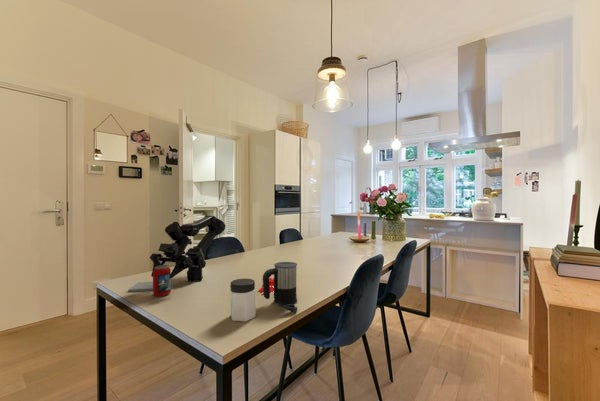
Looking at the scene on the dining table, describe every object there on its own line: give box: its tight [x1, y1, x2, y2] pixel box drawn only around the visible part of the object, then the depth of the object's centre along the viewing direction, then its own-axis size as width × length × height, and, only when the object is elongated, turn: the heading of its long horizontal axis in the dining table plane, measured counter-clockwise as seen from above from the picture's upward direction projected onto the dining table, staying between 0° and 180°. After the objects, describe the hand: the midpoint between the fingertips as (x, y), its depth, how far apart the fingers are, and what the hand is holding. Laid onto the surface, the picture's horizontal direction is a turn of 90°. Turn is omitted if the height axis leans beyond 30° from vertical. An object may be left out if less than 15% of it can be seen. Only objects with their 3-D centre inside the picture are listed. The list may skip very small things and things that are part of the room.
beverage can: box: [152, 264, 172, 298], centre depth 120 cm, size 7×7×12 cm
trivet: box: [128, 280, 153, 293], centre depth 130 cm, size 11×11×1 cm
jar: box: [230, 278, 256, 322], centre depth 97 cm, size 9×8×12 cm
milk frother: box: [262, 261, 298, 313], centre depth 107 cm, size 14×16×15 cm
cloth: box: [257, 277, 274, 296], centre depth 130 cm, size 26×14×2 cm, turn 160°
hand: (161, 277), depth 119 cm, fingers open, 9 cm apart
